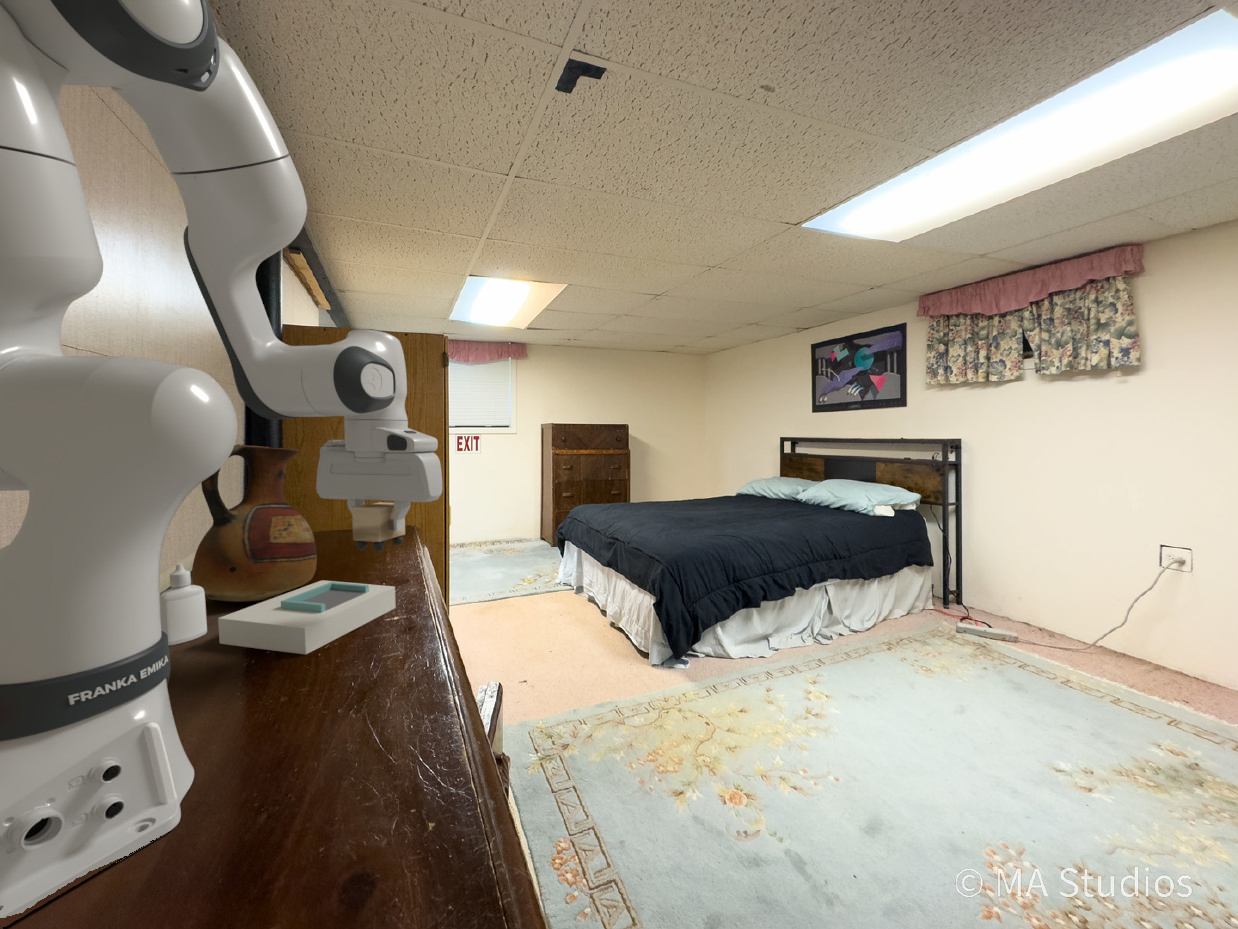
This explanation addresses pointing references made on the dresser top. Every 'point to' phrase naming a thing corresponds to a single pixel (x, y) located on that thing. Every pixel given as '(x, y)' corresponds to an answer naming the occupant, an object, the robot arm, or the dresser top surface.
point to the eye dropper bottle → (183, 608)
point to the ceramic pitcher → (254, 535)
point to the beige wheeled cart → (375, 525)
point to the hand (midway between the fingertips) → (379, 529)
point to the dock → (306, 616)
